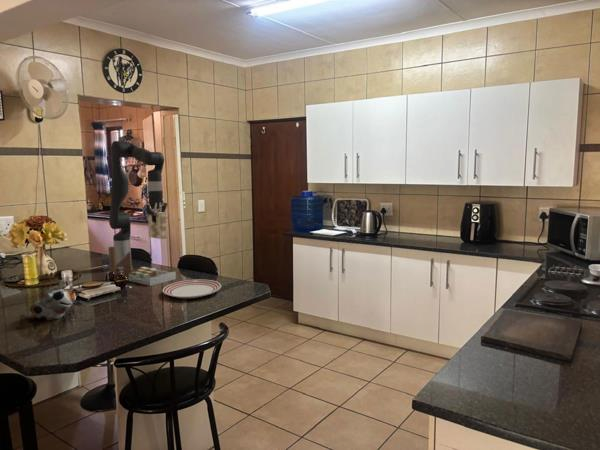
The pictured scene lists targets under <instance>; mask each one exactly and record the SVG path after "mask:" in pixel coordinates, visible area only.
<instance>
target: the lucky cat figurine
mask: <svg viewBox="0 0 600 450" xmlns="http://www.w3.org/2000/svg"><path fill="white" fill-rule="evenodd" d="M76 298H77V294H76V292H75V291H71V292H70V291H68V290H67V289H63V288H62V289H61V288H60V289H54V290H52V291H49V292H48V293H46V294H45V296H44V297H43V298H41V299H39V300H37V301H35V302H33V303H32V304H31V305H30V306H29V308H28V310H29V312H30V313H31V314H32V315H33V316H34V317H36V318H37V319H39V320H44V321H45V322H46V321H47V322H49V321H54V319H55V320H57V319H62V317H63V316H65V314H66V312H67V311H68V310H69V309H70V307H71V306H72V305H73V304H74V302H75V301H76Z"/></svg>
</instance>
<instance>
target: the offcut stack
mask: <svg viewBox="0 0 600 450" xmlns="http://www.w3.org/2000/svg"><path fill="white" fill-rule="evenodd" d="M152 268H153V267H146V266H140V267H139V268H137V269H136V271H137V272H136V271H135V272H136V273H135V276H138V277H142V278H147V279H148V278H150V277H154V276H158V275H160V271H159V270H160V269H152Z"/></svg>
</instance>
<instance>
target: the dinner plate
mask: <svg viewBox="0 0 600 450" xmlns="http://www.w3.org/2000/svg"><path fill="white" fill-rule="evenodd" d="M221 288H222V284H221V283H220V282H219V281H216V280H213V279H186V280H181V281H176V282H173V283H170V284H167V285H166V286H164V288H163V289H162V293H163V294H164V295H167V296H170V297H173V298H177V299H189V300H190V299H199V297H200V298H203V296H204V297H207V296H210V295H212V294H214V293H216V292H218V291H219V290H220V289H221Z"/></svg>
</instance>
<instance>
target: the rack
mask: <svg viewBox="0 0 600 450" xmlns="http://www.w3.org/2000/svg"><path fill="white" fill-rule="evenodd" d="M151 268H152V269H156V267H151ZM158 270H159V271H160V275H158V276H154V277H150V278H148V279H147V278H142V277H138V276H135V273H136V272H137V270H136V271H133V272H132V271H131V273H128V276H129V279H128V281H129V282H133V283H136V284H137V283H138V284H142V285H146V286H154V285H158V284H162V283H166V282H170V281H174V280H176V279H177V273H176V272H177V271H166V270H160V269H158Z"/></svg>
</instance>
